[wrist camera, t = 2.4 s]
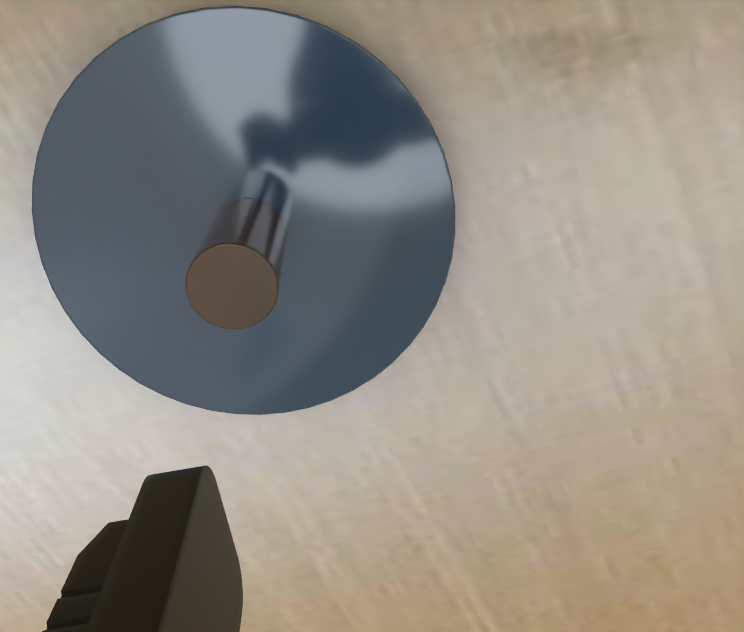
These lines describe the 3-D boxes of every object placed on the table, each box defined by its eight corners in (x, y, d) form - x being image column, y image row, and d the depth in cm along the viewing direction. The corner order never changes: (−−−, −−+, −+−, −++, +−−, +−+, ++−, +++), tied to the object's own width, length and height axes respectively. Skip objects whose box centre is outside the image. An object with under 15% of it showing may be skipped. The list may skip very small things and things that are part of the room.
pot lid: (4, 328, 24) (-92, 421, 18) (106, -75, 20) (20, -117, 14) (359, 442, 27) (370, 552, 21) (517, 114, 23) (584, 142, 17)
